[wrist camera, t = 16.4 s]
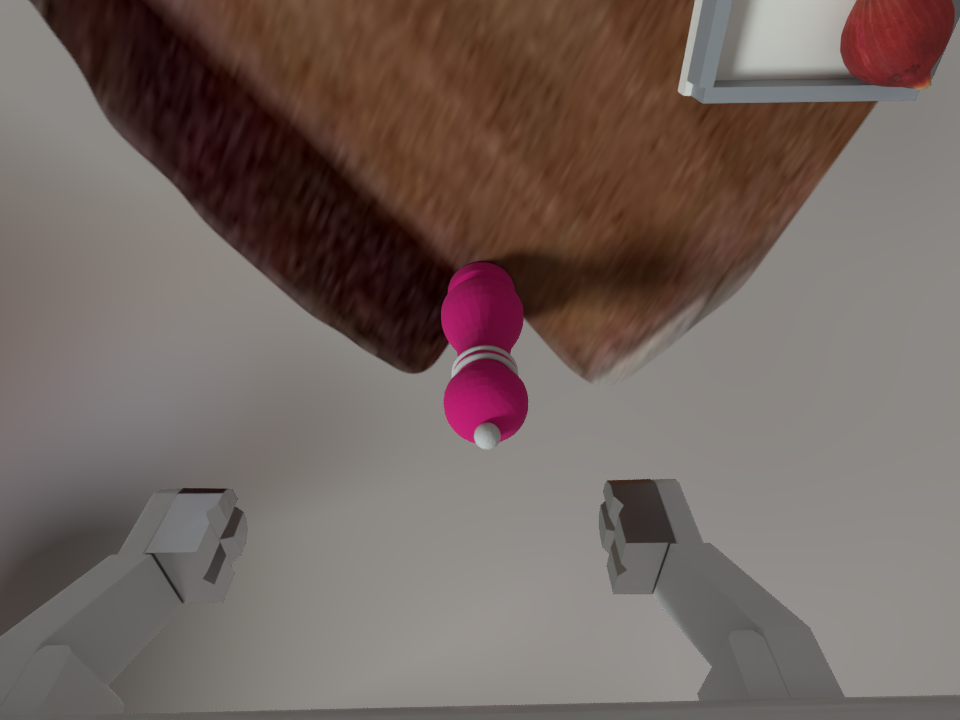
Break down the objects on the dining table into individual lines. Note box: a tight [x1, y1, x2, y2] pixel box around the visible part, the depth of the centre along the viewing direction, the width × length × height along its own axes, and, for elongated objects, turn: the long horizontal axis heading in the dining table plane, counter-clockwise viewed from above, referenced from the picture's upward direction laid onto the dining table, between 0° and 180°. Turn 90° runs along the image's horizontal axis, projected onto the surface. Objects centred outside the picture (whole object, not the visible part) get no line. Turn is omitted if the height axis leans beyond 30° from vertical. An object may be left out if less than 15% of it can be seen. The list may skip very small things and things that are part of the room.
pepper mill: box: [441, 262, 528, 449], centre depth 43 cm, size 7×7×20 cm
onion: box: [840, 0, 955, 91], centre depth 35 cm, size 6×6×8 cm
